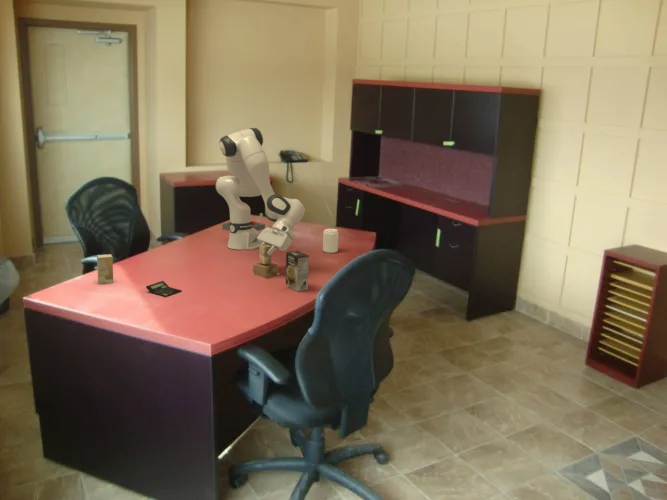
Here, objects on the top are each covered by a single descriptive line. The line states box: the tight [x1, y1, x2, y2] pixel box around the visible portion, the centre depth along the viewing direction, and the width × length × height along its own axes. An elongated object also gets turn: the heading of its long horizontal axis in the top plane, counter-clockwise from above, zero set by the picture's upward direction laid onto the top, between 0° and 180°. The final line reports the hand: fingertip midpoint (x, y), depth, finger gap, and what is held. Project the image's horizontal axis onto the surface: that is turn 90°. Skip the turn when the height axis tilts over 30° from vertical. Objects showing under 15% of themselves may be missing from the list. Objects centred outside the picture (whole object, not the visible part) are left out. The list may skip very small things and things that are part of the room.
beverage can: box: [322, 228, 339, 254], centre depth 343 cm, size 8×8×12 cm
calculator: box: [145, 280, 183, 298], centre depth 273 cm, size 9×12×3 cm
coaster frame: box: [221, 220, 266, 231], centre depth 389 cm, size 18×18×3 cm
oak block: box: [258, 245, 272, 264], centre depth 295 cm, size 4×4×8 cm
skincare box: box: [96, 254, 114, 285], centre depth 281 cm, size 6×4×12 cm
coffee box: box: [285, 250, 310, 292], centre depth 281 cm, size 9×6×16 cm
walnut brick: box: [252, 262, 278, 279], centre depth 297 cm, size 8×8×5 cm
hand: (264, 252), depth 295 cm, fingers closed on oak block, 4 cm apart
